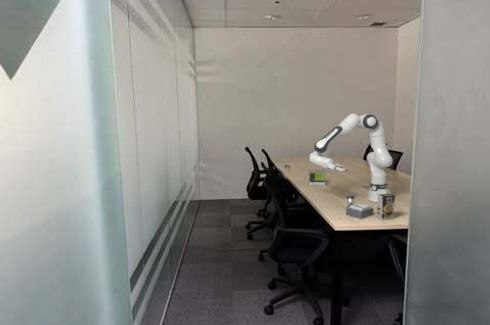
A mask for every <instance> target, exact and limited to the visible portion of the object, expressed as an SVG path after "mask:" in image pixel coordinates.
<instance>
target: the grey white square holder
mask: <svg viewBox="0 0 490 325" xmlns="http://www.w3.org/2000/svg"><path fill="white" fill-rule="evenodd" d="M345 213H346V214H345V215H346V216H348V215H349V217H353V218H356V219H358V220H359V219H360V220H363V219H366V218H369V217H371V216H373V215H374V208H373V207H370V205H366V204H362V203H354V205H351V206H350V207H348V208H347V207H346V209H345Z"/></svg>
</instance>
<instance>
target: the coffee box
mask: <svg viewBox="0 0 490 325" xmlns="http://www.w3.org/2000/svg"><path fill="white" fill-rule="evenodd" d="M395 198H396V195H395V194H392V193H391V194H378V202H376V203H377V204H376V207H377V208H376V218H378V220H381V221H384V220H394V218H395V200H396V199H395Z"/></svg>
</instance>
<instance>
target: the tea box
mask: <svg viewBox="0 0 490 325" xmlns="http://www.w3.org/2000/svg"><path fill="white" fill-rule="evenodd" d="M308 178H309V180H308V181H309V182H308V183H309V184H308V185H310V186H326V169H309V170H308Z"/></svg>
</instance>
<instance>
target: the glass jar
mask: <svg viewBox="0 0 490 325" xmlns="http://www.w3.org/2000/svg"><path fill="white" fill-rule="evenodd" d="M351 205H355V196H354V195H346V208H348V207H350V206H351Z"/></svg>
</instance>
